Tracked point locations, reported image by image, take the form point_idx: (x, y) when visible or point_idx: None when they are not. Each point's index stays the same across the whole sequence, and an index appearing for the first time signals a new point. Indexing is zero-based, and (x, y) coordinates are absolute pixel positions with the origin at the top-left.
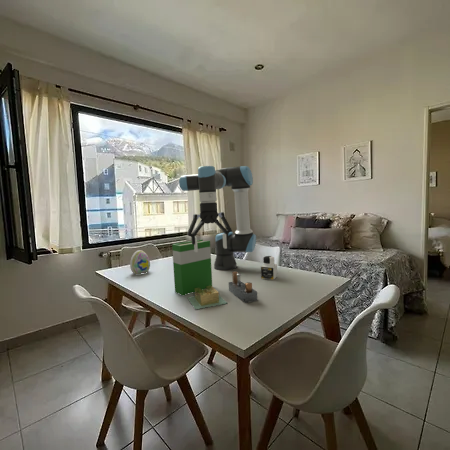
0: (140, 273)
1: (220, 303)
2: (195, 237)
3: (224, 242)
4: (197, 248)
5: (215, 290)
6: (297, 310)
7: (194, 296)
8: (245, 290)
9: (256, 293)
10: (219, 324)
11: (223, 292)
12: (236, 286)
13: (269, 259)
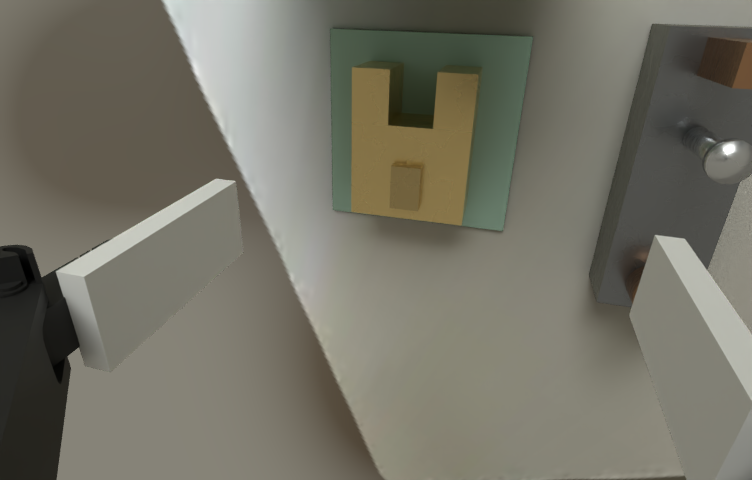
0: None
1: (466, 220)
2: (90, 366)
3: (658, 352)
4: (218, 274)
5: (458, 188)
6: None
7: (374, 32)
8: (629, 281)
9: None
10: (380, 364)
11: (587, 48)
12: (650, 160)
13: None
